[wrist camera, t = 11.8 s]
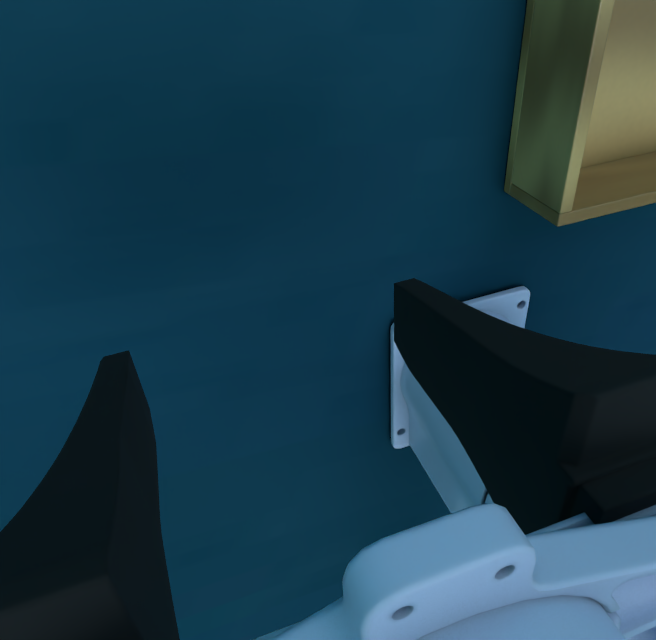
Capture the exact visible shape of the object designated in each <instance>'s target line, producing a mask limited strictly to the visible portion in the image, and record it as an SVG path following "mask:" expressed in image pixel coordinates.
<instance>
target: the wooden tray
mask: <svg viewBox="0 0 656 640" xmlns="http://www.w3.org/2000/svg"><path fill="white" fill-rule="evenodd" d="M504 191H505V192H506V193H508V194H509V195H511V196H512V197H514V198H515V199H517V200H518V201H520V202H521V203H523V204H524V205H526V206H527V207H529V208H530V209H532V210H533V211H535V212H536V213H538V214H539V215H541V216H542V217H544V218H545V219H547V220H548V221H550V222H551V223H553V224H554V225H556V226H558V227H559V226H563V225H567V224H571V223H575V222H579V221H583V220H587V219H591V218H595V217H599V216H603V215H607V214H611V213H615V212H619V211H623V210H627V209H631V208H635V207H639V206H643V205H647V204H651V203H656V0H527V8H526V16H525V24H524V32H523V41H522V49H521V57H520V65H519V73H518V81H517V89H516V97H515V105H514V113H513V121H512V129H511V138H510V146H509V154H508V162H507V170H506V178H505V186H504Z"/></svg>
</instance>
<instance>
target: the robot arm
mask: <svg viewBox="0 0 656 640" xmlns="http://www.w3.org/2000/svg"><path fill="white" fill-rule="evenodd" d="M529 299H530V291H529V290H528V289H527V288H526V287H524V286H519V287H516V288H512V289H508V290H505V291H501V292H497V293H493V294H490V295H486V296H482V297H479V298H475V299H471V300H468V301H464V302H461V301H459V300H457V299H455V298H453V297H451V296H449V295H447V294H445V293H443V292H441V291H439V290H437V289H435V288H433V287H432V286H430V285H428V284H426V283H424V282H421V281H419V280H417V279H415V278H413V279H409V280H405V281H401V282H398V283H394V323H393V324H392V325H391V329H390V340H391V443H392V445H393V447H394V448H396V449H400V448H403V447H407V446H411V448H412V450H413V451H414V453H415V455H416V456H417V458H418V459H419V461H420V463H421V464H422V466H423V468H424V469H425V471H426V473H427V474H428V476H429V478H430V479H431V481H432V483H433V484H434V486H435V488H436V489H437V491H438V492H439V494H440V496H441V497H442V499H443V501H444V502H445V504H446V506H447V507H448V509H449V511H450V512H451V514H448V515H445V516H442V517H440V518H437V519H434V520H431V521H428V522H426V523H423V524H420V525H417V526H415V527H412V528H409V529H406V530H404V531H401V532H398V533H395V534H392V535H390V536H387V537H384V538H382V539H380V540H378V541H376V542H374V543H372V544H370V545H368V546H366V547H365V548H363V549H362V550H361V551H360V552H359V553H358V554H357V555H356V556H355V557H354V558H353V559H352V560H351V561H350V562H349V563H348V565H347V567H346V570H345V573H344V576H343V579H342V584H343V597H341V598H340V599H338V600H336V601H334V602H333V603H331V604H329V605H328V606H326V607H324V608H323V609H321V610H319V611H318V612H316V613H314V614H312V615H311V616H309V617H307V618H306V619H304V620H302V621H300V622H298V623H295V624H292V625H290V626H287V627H284V628H282V629H279V630H277V631H274V632H271V633H269V634H266V635H264V636H261V637H258V638H256V639H253V640H656V355H650V354H641V353H632V352H623V351H615V350H609V349H603V348H597V347H591V346H587V345H582V344H577V343H573V342H569V341H565V340H561V339H557V338H553V337H549V336H546V335H542V334H539V333H536V332H533V331H530V330H527V329H524V328H525V322H526V316H527V310H528V305H529ZM519 302H520V303H519ZM0 640H180V639H179V634H178V628H177V623H176V617H175V612H174V606H173V601H172V595H171V589H170V583H169V577H168V572H167V566H166V559H165V553H164V547H163V541H162V535H161V524H160V510H159V491H158V471H157V453H156V441H155V435H154V429H153V424H152V419H151V413H150V408H149V406H148V403H147V400H146V397H145V394H144V392H143V389H142V386H141V383H140V380H139V378H138V375H137V372H136V369H135V366H134V364H133V361H132V358H131V355H130V352H129V351H125V352H121V353H117V354H113V355H109V356H105V357H103V359H102V360H101V361H100V364H99V368H98V371H97V374H96V376H95V379H94V382H93V385H92V387H91V390H90V392H89V395H88V397H87V399H86V402H85V404H84V406H83V409H82V411H81V413H80V415H79V417H78V420H77V422H76V424H75V426H74V427H73V429H72V431H71V433H70V435H69V437H68V439H67V441H66V443H65V445H64V446H63V448H62V450H61V452H60V453H59V455H58V457H57V458H56V460H55V462H54V463H53V465H52V466H51V468H50V469H49V471H48V472H47V474H46V475H45V477H44V478H43V480H42V481H41V483H40V484H39V485H38V487H37V488H36V489H35V491H34V492H33V494H32V495H31V496H30V498H29V499H28V500H27V502H26V503H25V504H24V505H23V507H22V508H21V509H20V510H19V512H18V513H17V514H16V515H15V516H14V517H13V519H12V520H11V521H10V522H9V523H8V524H7V525H6V527H5V528H4V529H3V530H2V531H1V532H0Z"/></svg>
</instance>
